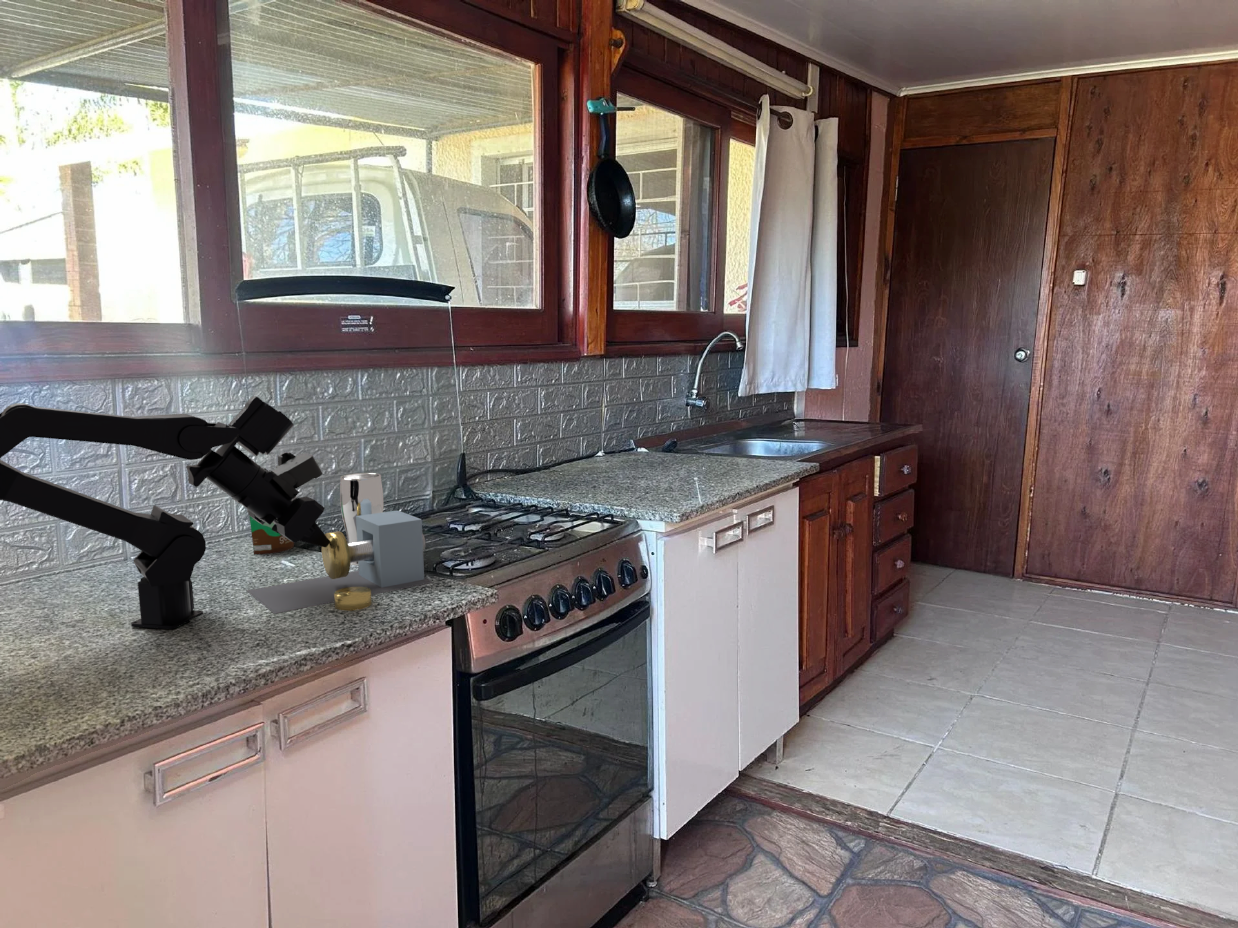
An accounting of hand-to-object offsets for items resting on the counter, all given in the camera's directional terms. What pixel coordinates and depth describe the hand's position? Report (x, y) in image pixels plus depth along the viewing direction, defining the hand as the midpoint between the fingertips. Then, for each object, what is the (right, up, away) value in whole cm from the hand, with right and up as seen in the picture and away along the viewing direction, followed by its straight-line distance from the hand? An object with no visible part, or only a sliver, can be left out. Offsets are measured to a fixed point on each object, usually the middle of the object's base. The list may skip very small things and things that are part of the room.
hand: (327, 544), depth 130 cm
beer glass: (+1, -5, +17) cm, 18 cm away
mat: (+1, -7, +2) cm, 7 cm away
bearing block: (+8, -6, +7) cm, 12 cm away
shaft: (+6, -5, +5) cm, 9 cm away
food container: (-18, -3, +28) cm, 33 cm away
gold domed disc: (+6, -9, -7) cm, 12 cm away
